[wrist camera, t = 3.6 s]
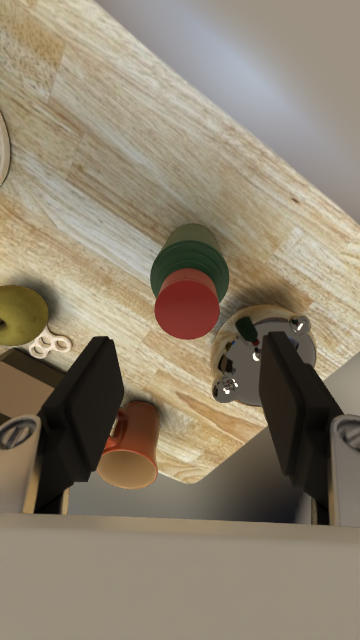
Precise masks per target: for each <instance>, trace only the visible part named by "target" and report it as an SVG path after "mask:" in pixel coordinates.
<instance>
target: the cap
mask: <svg viewBox="0 0 360 640" xmlns="http://www.w3.org/2000/svg"><path fill="white" fill-rule="evenodd" d="M219 313H220V308H219V302H218V297H217V292H216V288H215V285H214V283H213V281H212V280H211V279H210V278H209V277H208V276H207V275H206V274H205V273H203V272H201V271H199V270H196V269H189V268H186V269H180V270H177V271H175V272H173V273H172V274H170V275H169V276H168V277H167V278H166V279H165V280H164V282H163V284H162V286H161V289H160V291H159V294H158V297H157V299H156V302H155V317H156V319H157V322H158V324H159V325H160V327H161V328H162V329H163V330H164V331H165V332H166V333H168V334H169V335H171V336H173V337H176V338H179V339H188V340H189V339H196V338H199V337H202V336H204V335H205V334H207V333H208V332H210V331H211V330H212V329H213V327H214V326H215V325H216V323H217V321H218V318H219Z"/></svg>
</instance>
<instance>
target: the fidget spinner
mask: <svg viewBox="0 0 360 640" xmlns="http://www.w3.org/2000/svg"><path fill="white" fill-rule="evenodd" d="M41 337H46V338H48V339H49V340H50V342H51V345H46V344H44V343H43V342H42V340H41ZM57 340H61V341H64V342H65V343H66V345H67V348H61V347H59V346H58V345H57ZM35 346H36V347H39V348H41V349H42V350H43V354H38V353H36V352H35V351H34V347H35ZM71 347H72V345H71V342H70V340H69V339H68V338H66V337H64V336H55V335H53V334H51V333H50V332H49V330H48V327H47V325H46V327H45V329H44V330H43V332H42V333H41V334H40V335H39V336H38V337H37V338H35V341H34V343H32V344H31V345H30V346H29V352H30V354H31V355H32V356H33V357H35V358H38V359H43V358H45V357H46V356H47V355H48V352H49V351H50V350H55V351H58V352H60V353H66V352H68V351H69V350H70V349H71Z"/></svg>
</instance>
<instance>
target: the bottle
mask: <svg viewBox="0 0 360 640" xmlns="http://www.w3.org/2000/svg"><path fill="white" fill-rule="evenodd" d="M64 376H65V375H63V374H61V373H59V372H57V371H55V370H53V369H52V368H50V367H48V366H46V365H44V364H42V363H40V362H38V361H36V360H35V359H33V358H31V357H29V356H27V355H25V354H23V353H21V352H19V351H18V350H16V349H14V348H12V349H10V350H8V351H7V352H5V353H3V354H2V355H0V426H1V425H2V424H4V423H5V422H7V421H9V420H11V419H12V418H15V417H18V416H21V415H26V414H32V415H37V413H38V412H39V411H40V409H41V406H42V405H43V404H44V402H45V401H46V400H47V398H48V397H49V396H50V394H51V393H52V392H53V390H54V389H55V388H56V386H57V385H58V384H59V382H60V381H61V380H62V378H63V377H64Z"/></svg>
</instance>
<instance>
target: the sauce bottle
mask: <svg viewBox="0 0 360 640" xmlns="http://www.w3.org/2000/svg"><path fill="white" fill-rule="evenodd" d="M186 268H189V269H196V270H199V271H201V272H203V273H205V274H206V275H207V276H208V277H209V278H210V279H211V280H212V281H213V283H214V285H215V288H216V292H217V297H218V302H219V303H220V302H221V301H222V299H223V298H224V296H225V294H226V292H227V289H228V285H229V271H228V267H227V264H226V262H225V260H224V257H223V255H222V253H221V250H220V248H219V246H218V243H217V241H216V239H215V237H214V235H213V234H212V233H211V232H210V231H209V230H208V229H207V228H205V227H204V226H202V225H198V224H186V225H183V226H181V227H179V228H177V229H176V230H175V231H174V232H173V233H172V234H171V236H170V237H169V239H168V240H167V242H166V243H165V245H164V247H163V248H162V250H161V251H160V253H159V254H158V256H157V257H156V259H155V261H154V263H153V266H152V269H151V275H150V281H151V287H152V290H153V293H154V295H155V297H156V298H157V297H158V294H159V291H160V289H161V286H162V284H163V282H164V280H165V279H166V278H167V277H168V276H169V275H170V274H172V273H173V272H175V271H177V270H180V269H186Z"/></svg>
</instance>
